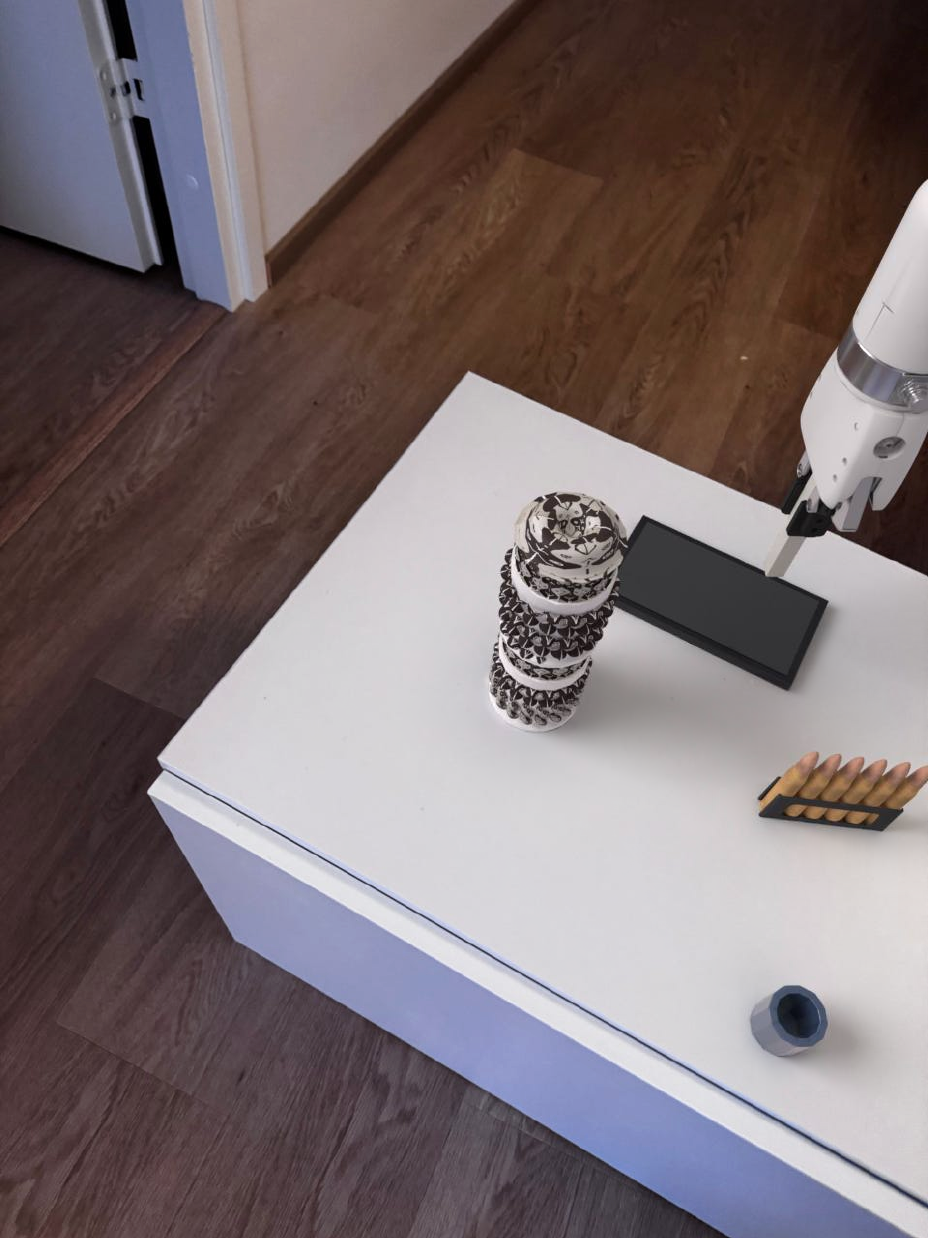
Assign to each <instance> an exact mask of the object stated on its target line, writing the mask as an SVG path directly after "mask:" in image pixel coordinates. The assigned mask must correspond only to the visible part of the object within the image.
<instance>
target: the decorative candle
mask: <svg viewBox="0 0 928 1238" xmlns="http://www.w3.org/2000/svg"><path fill="white" fill-rule="evenodd" d="M627 540H628V537H627V529H626V527H625V525H624V523H623V522H622V520H621V519H620V516H619V514H618V513H617V512H616V511H615V510H614V509H612V508H611V507H609V505H607V504H606V503H604V502H603V501H602V500H601V499H598V498H595V497H593V496H591V495H587V494H585V493H582V492H576V491H575V492H574V491H556V492H551V493H548V494H544V495H541V496H538V497H537V498H535V499H533V500H532V501H531V502H530V503H528V504H527V505H525V506H524V507H523V508H522V510H521V512H520V513H519V515H518V517H517V519H516V521H515V523H514V542H513V547H512V548H509V549H508V550H507V551H505V554H504V561H505V564H503V565H502V566H501V567H500V570H499V571H500V574H499V575H500V577H501V579H502V581H503V582H501V584H500V586H499V594H498V602H499V603H500V605H501V606H500V608H498V613H497V614H498V618H499V632H498V635H497V642H495V643H494V645H493V654H492V657H491V658H492V661H491V663H490V667H489V668H490V669H489V670H490V672H489V674H488V678H489V685H488V686H489V688H488V689H489V692H488V696H489V699H490V702H491V704H492V706H493V708H494V711H495V713H496V714H497V715H499V717H501V718H502V719H503V720H504V721H505V722H506V723H507V724H508V725H510V726H513V727H515V728H517V729H520V730H522V731H525V732H533V733H534V732H535V733H546V732H549V731H551V730H555V729H558V728H560V727H562V726H563V725H565V724H566V723H567V722H568V721H569V720H570V719H571V718H573V717H574V715H575V713H576V710H577V708H578V706H579V705H580V703H581V702H580V701H581V698H582V696H583V694H584V691H585V686H586V685H587V682H588V681H587V679H588V677H589V676H590V668H591V667H592V666H593V659H592V657H591V656H592V654H593V652H594V651H595V650H596V648H597V645H598V643H599V642H600V641H601V640H602V639H603V637H604V629H605V628H607V626H608V625H609V618H610V617H611V616H613V614H614V612H615V611H614V610H615V607H614V606H613V605H612V604H614V603H616V602H617V600H618V598H619V593H618V591H617V590H618V589H619V587H620V580H619V578H618V577H617V573H618V568H617V566H619V565H620V564H621V561H622V559H623V557H624V555H625V552H626V550H627V548H628V547H627ZM606 600H607V602H606Z"/></svg>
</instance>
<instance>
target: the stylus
mask: <svg viewBox="0 0 928 1238" xmlns="http://www.w3.org/2000/svg"><path fill="white" fill-rule="evenodd" d="M815 486H816V482H815V479H814V476H813V473H812V475H811V477H810V479H809V481H808V482H807V484H806V486H805V488H804V490H803V492H802V493H801V495H800V497H799V499H798V501H797V502H796V504H795V506H794V508H793V510H792V511H791V513H790V515H788V516H787V518H786V520H785V522H784V523H783V525H782V528H781V529H780V531H779V533H778V534H777V536H776V538H775V540H774V542H773V544H772V545H771V547H770V549H769V550H768V553H767V554H766V556H765V558H764V560H763V562H762V564H763V571H765V575H766V577H767V578H768V579H772V578H773V577H779V578H784V576H785V574H786V573H787V571H788V569H789V568H790V566H791V564H792V563H793V561H794V559H795V557H796V556H797V554H798V553H799V551H800V549H801V548H802V545H803V544H804V543H805V541H806V539H807V538H808V537H802V536H788V535H787V532H786V528H787V526H788V524H789V522H790V520H791V519H792V517H793V515H794V513H795V511H796V510H797V508H798V506H799V504H800V502H801V501H803V500H808V498H809V496H810V495H811V493H812V491H813V490H814V488H815Z"/></svg>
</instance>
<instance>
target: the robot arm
mask: <svg viewBox="0 0 928 1238" xmlns="http://www.w3.org/2000/svg"><path fill="white" fill-rule="evenodd" d="M800 429H801V433H802V439H803V442H804V446H805V450H804V452H803V453H802V456H801V458H800V460H799V462H798V464H797V468H796V473H797V474H796V475H797V477H795V478H794V480H793V482H792V484H791V486H790V488H789V489H788V491H787V493H786V495H785V497H784V499H783V500H782V502H781V505H780V507H779V508H780V512H781V514H782V515H783V514H784V515H786V516H787V515H788V516H789V515H790V513H791V511H792V510H793V508H794V506H795V504H796V502H797V501H798V499H799V497H800V495H801V493H802V492H803V490H804V488H805V486H806V484H807V482H808V481H809V479H810V477H811V475H812V473H813V476H814V479H815V482H816V486H815V488H814V490H813V491H812V493H811V495H810V496H809V498H808V500H803V501H801V502H800V504H799V506H798V508H797V510H796V511H795V513H794V515H793V517H792V519H791V520H790V522H789V524H788V526H787V528H786V532H787V535H788V536H802V537H807V538H810V539H811V538H821V537H824V535H826V533H827V532H828V530H829V528H830V527H831V525H832V524H833V525H834V527H835V528H836V530H837V531H838V532H849V533H850V532H851V533H853V532H854V533H856V532H857V531H858V529H859V527H860V523H861V521H862V517H863V514H864V511H865V508H866V505H867V502H868V501H869V504H870V507H871V510H872V511H883V510H884V509H885V508H886V507H887V506H888V504H889V503H891V500H892V499H893V498H894V496H895V495H896V493H897V491H898V490H899V488H900V486H901V485H902V483H903V481H904V479H905V478H906V476H907V474H908V473H909V470H910V469H911V467H912V466H913V463H914V462H915V459H916V457H917V456H918V454H919V452H920V450H921V448H922V445H923V444H924V441H925V439H926V436H927V434H928V178H927V179H926V180H925V181H924V182H923V183H922V184H921V185H920V186H919V188H918V189H917V190H916V192H915V194H914V195H913V197H912V199H911V200H910V203H909V205H908V206H907V208H906V210H905V212H904V215H903V217H902V218H901V220H900V222H899V224H898V227H897V228H896V230H895V232H894V234H893V237H892V238H891V240H890V242H889V245H888V247H887V248H886V250H885V252H884V255H883V256H882V258H881V260H880V263H879V264H878V267H876V270H875V272H874V274H873V276H872V278H871V280H870V282H869V284H868V286H867V287H866V290H865V292H864V294H863V296H862V298H861V300H860V302H859V304H858V306H857V308H856V310H855V312H854V313H853V316H852V318H851V320H850V322H849V324H848V326H847V328H846V329H845V332H844V334H843V336H842V337H841V340H840V342H839V344H838V345H837V348H835V350H834V351H833V352H832V355H831V356H830V357H829V359H828V360H827V362H826V364H825V365H824V367H823V368H822V370H821V372H820V374H819V376H818V378H817V379H816V381H815V383H814V384H813V387H812V388H811V391H810V392H809V395H808V397H807V399H806V401H805V403H804V406H803V408H802V411H801V414H800Z"/></svg>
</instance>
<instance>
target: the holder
mask: <svg viewBox="0 0 928 1238" xmlns="http://www.w3.org/2000/svg"><path fill="white" fill-rule="evenodd" d="M749 1020H750V1029H751V1032H752V1033H751V1034H752V1035H753V1037H754V1039H755V1041H756V1042H757V1044H758V1045H759V1046H760V1047H761V1048H762V1049H763V1050H765V1051H766V1052H767V1053H769V1054H771V1055H774V1056H775V1057H792V1056H794V1055H797V1054H799V1053H801V1052H804V1051H806V1050H808V1049H810V1048H812V1047H814V1046H816V1044H819V1042H820V1041H822V1040H824V1038H825V1035H826V1032H827V1028H828V1025H829V1020H828V1017H827V1011H826V1007H825V1005H824V1004H823V1003H822V1001H821V999H819V997H818V995H816V993H815V992H813V991H812V990H810V989H808V988H806V987H804V986H802V985H800V984H799V985H798V984H794V985H793V984H792V985H791V984H788V985H787V984H786V985H783V986H782V987H780V988H778V989H776V990H775V991H774V992H771V993H770V994H769V995H768V996H766V997H765V998H763V999H761V1000H760V1001H759V1002H757V1003H756V1004H755V1005H754V1007H753V1009H752V1012H751V1015H750V1019H749Z"/></svg>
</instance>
